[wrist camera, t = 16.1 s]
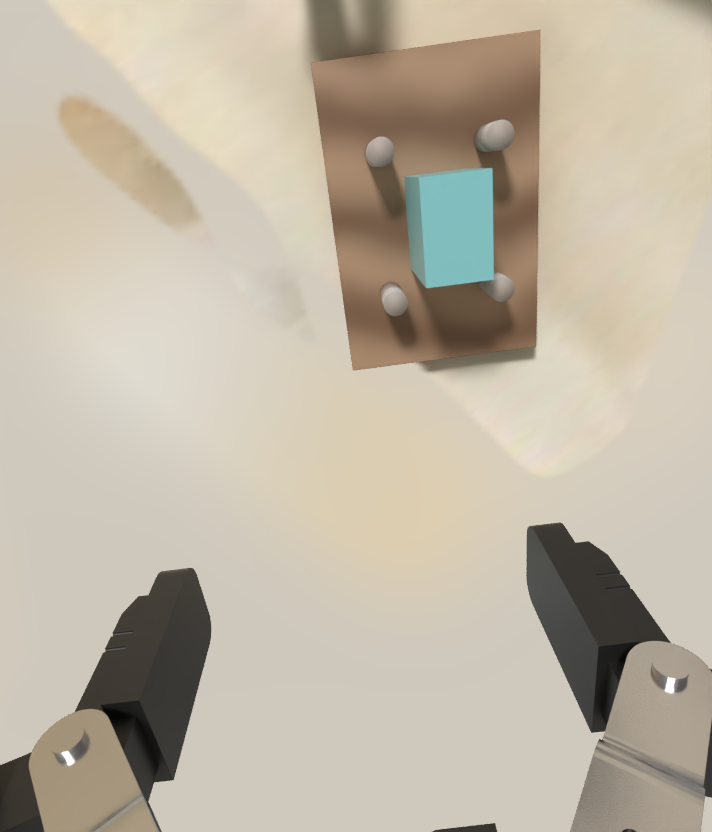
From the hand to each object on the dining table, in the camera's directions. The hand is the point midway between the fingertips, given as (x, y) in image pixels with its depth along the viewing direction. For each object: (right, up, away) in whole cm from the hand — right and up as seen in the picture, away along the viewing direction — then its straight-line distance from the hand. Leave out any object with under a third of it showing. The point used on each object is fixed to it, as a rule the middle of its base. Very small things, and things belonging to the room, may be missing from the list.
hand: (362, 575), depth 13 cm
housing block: (+5, +17, +24) cm, 30 cm away
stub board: (+5, +18, +25) cm, 31 cm away
